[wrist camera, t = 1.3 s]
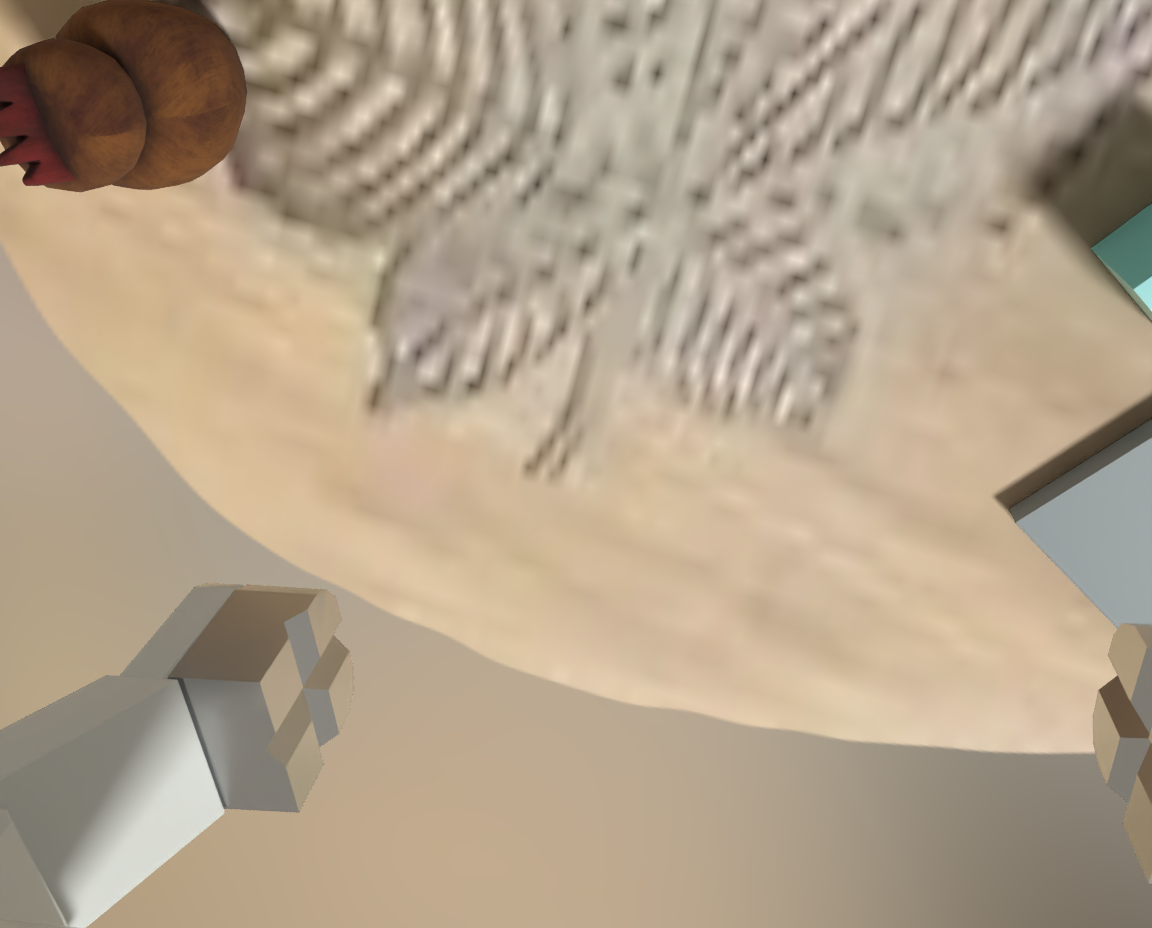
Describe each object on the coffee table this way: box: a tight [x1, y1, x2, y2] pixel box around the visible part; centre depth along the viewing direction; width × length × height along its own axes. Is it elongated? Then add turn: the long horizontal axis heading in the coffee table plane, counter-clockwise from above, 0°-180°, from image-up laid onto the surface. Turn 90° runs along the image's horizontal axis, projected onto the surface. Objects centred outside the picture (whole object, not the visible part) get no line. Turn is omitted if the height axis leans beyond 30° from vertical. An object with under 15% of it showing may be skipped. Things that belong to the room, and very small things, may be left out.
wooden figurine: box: [0, 0, 247, 192], centre depth 35 cm, size 7×6×15 cm
